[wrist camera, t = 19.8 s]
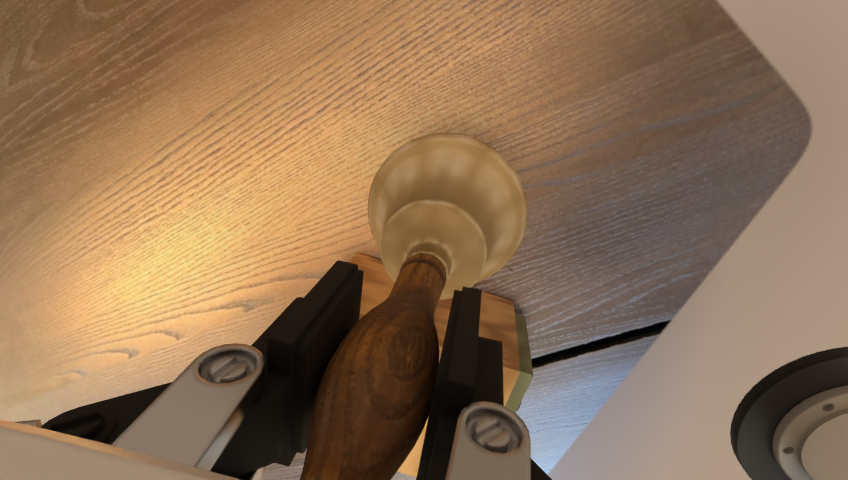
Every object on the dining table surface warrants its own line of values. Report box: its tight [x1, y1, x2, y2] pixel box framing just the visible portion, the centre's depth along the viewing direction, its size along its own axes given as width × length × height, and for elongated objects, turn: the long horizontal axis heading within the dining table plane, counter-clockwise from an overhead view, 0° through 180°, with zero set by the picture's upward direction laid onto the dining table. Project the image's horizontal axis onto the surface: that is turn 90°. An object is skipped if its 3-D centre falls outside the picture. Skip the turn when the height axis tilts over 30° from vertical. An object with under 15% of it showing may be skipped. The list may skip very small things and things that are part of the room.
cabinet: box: [350, 253, 520, 478], centre depth 34 cm, size 15×13×10 cm
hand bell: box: [300, 133, 528, 480], centre depth 14 cm, size 8×8×16 cm
